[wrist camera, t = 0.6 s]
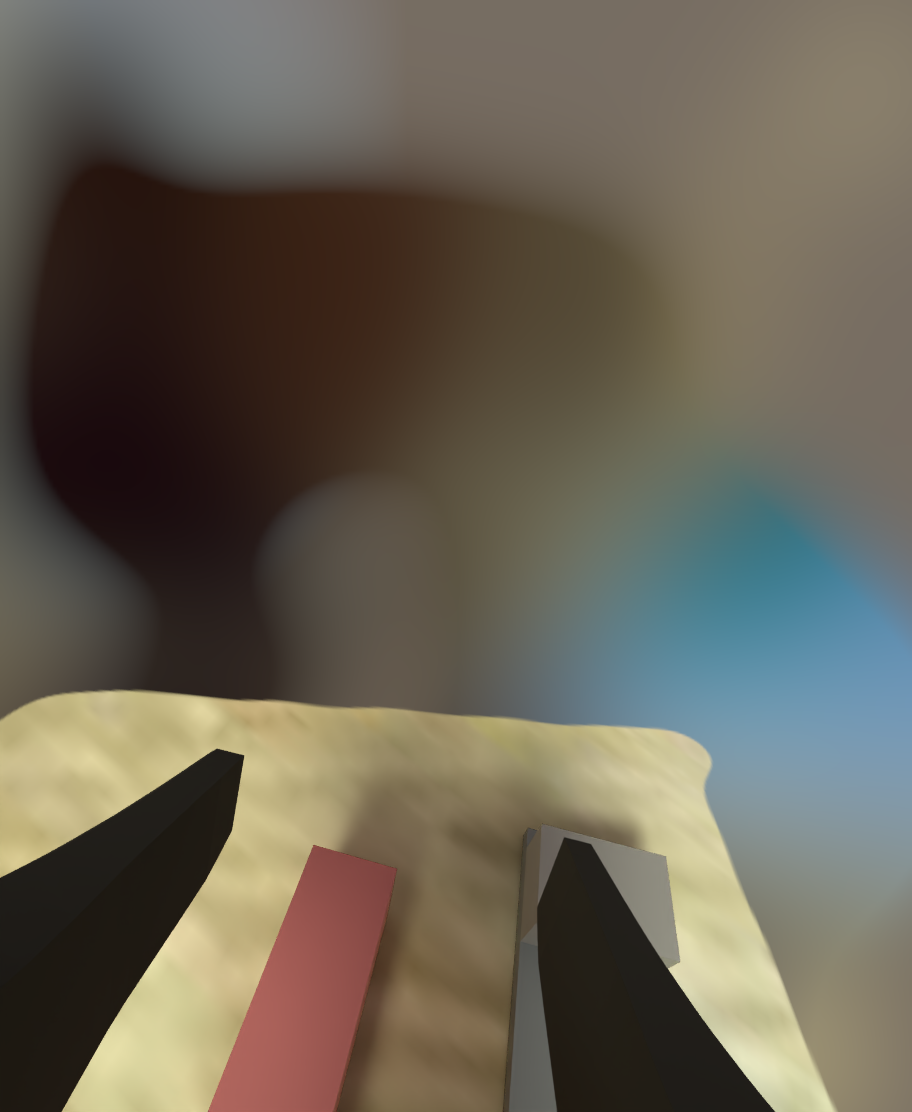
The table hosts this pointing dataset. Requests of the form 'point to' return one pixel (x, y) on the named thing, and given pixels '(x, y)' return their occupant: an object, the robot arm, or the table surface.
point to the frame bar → (310, 991)
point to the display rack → (528, 1043)
